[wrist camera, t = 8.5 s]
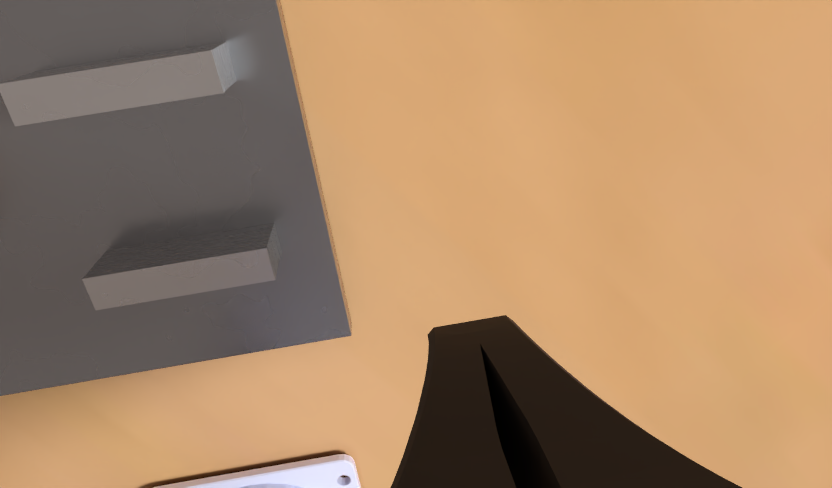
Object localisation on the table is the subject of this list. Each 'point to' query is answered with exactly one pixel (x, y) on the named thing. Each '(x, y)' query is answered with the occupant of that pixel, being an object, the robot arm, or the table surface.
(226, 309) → the firebox plate
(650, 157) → the table surface
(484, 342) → the robot arm
